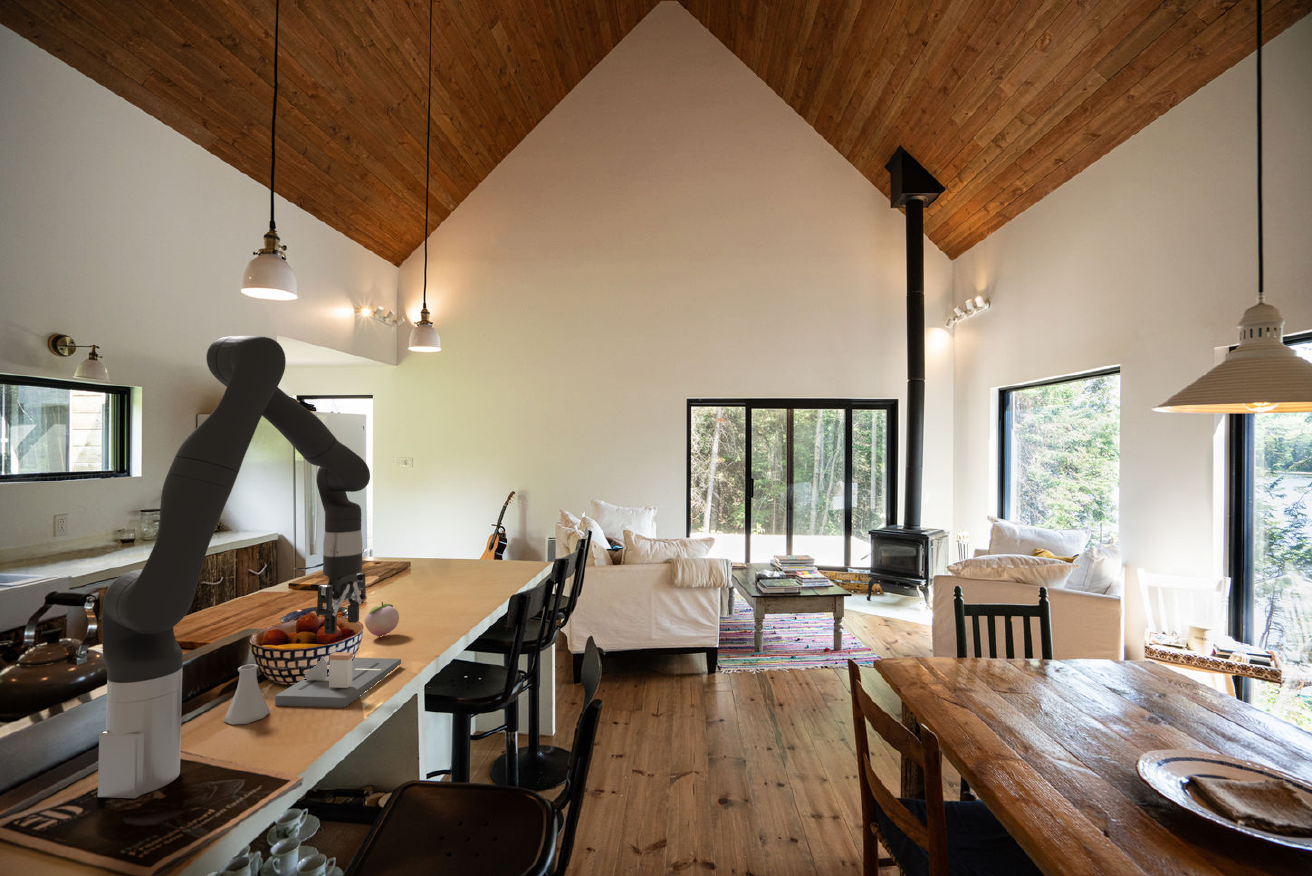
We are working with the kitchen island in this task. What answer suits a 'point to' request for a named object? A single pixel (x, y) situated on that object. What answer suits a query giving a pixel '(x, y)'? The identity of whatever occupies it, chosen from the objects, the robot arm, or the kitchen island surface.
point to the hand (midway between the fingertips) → (342, 627)
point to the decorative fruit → (382, 619)
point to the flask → (247, 698)
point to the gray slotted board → (322, 695)
